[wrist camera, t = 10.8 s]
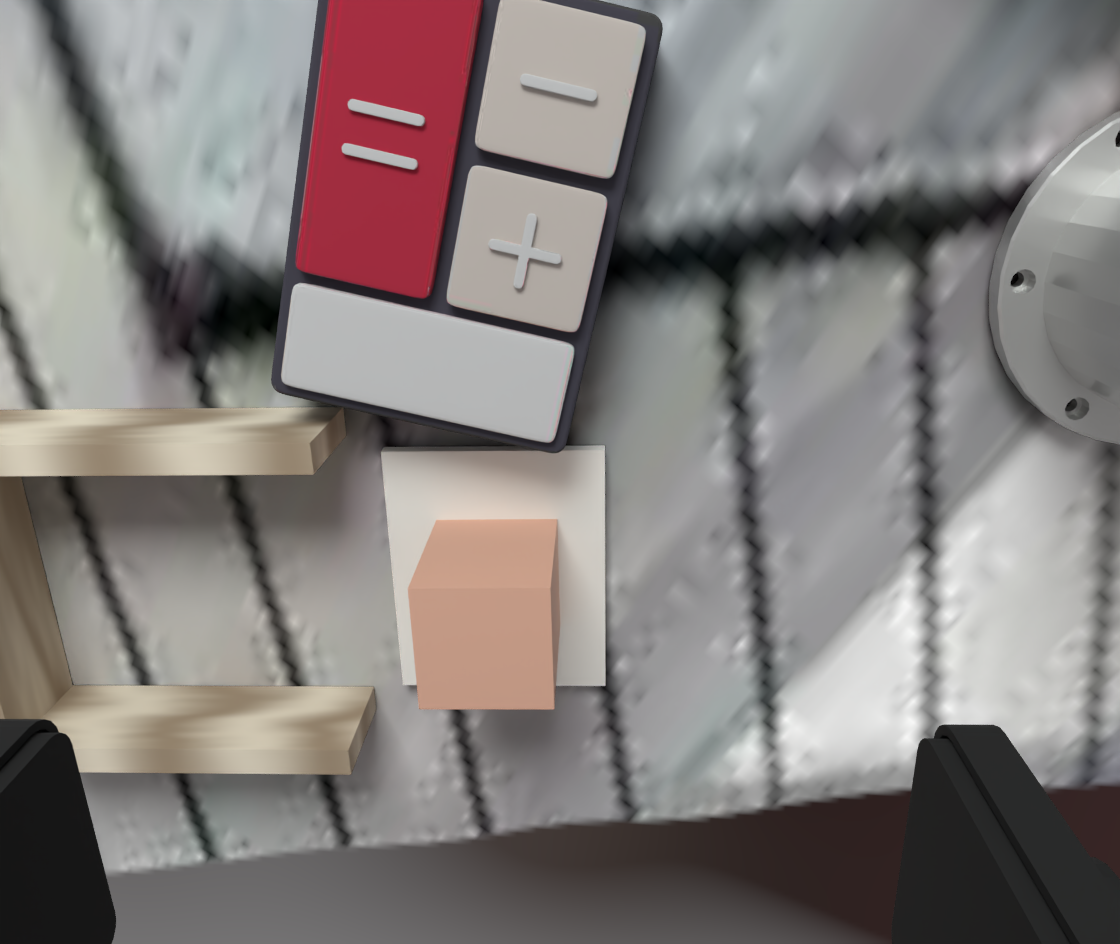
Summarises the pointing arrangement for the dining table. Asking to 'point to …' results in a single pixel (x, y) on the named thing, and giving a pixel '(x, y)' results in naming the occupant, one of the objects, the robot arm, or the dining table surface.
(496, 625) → the block
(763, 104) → the dining table surface
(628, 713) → the dining table surface
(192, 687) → the u-shaped frame
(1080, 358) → the robot arm
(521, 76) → the calculator
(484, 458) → the mat
